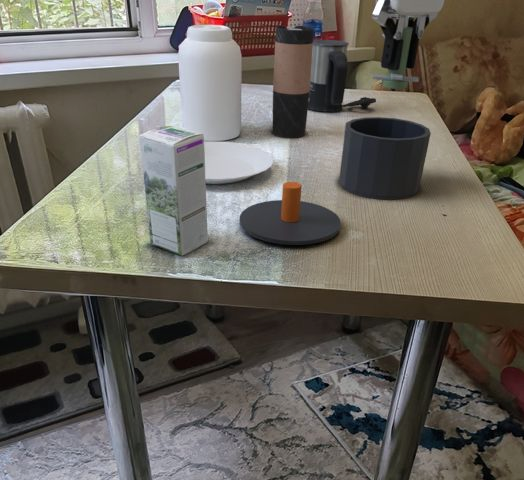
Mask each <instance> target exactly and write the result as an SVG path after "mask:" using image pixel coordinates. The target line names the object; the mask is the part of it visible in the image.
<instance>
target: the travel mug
mask: <svg viewBox="0 0 524 480" xmlns="http://www.w3.org/2000/svg"><path fill="white" fill-rule="evenodd" d="M314 31H315V29H314V27H311V26H306V25H295V26H294V27H293V28H287V27H286V26H285V25H277V26H276V27H275V38H274V39H275V42H274V60H273V61H274V62H273V80H272V81H273V82H272V134H273V135H274V136H277V137H280V138H286V139H295V138H301V137H304V136H305V135H306V129H307V120H308V112H309V111H308V110H309V109H308V102H309V91H310V78H311V63H312V48H313V41H314V33H315V32H314Z"/></svg>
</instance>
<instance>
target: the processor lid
mask: <svg viewBox="0 0 524 480" xmlns="http://www.w3.org/2000/svg"><path fill="white" fill-rule="evenodd" d="M301 197H302V183H300V182H297V181H285V182H284V183H283V184H282V196H281V199H276V200H266V201H262V202H259V203H255V204H253V205H250V206H248V207H246V208H245V209H244V210H242V212H241V213H240V215H239V226H240V227H241V229H242V230H243V231H244V232H245V233H246V234H248V235H249V236H251V237H253V238H256V239H258V240H260V241H264V242H268V243H273V244H280V245H288V246H302V245H312V244H318V243H322V242H325V241H328V240H330V239H332V238H333V237H335V236H336V235H337V234H338V233H339V232H340V229H341V226H342V223H341V218H340V217H339V216H338V215H337V214H336V213H335V211H333V210H331V209H329V208H328V207H325V206H323V205H319V204H316V203H313V202H308V201H302V200H301V199H302V198H301Z"/></svg>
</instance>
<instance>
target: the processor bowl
mask: <svg viewBox="0 0 524 480" xmlns="http://www.w3.org/2000/svg"><path fill="white" fill-rule="evenodd" d="M344 129H345V130H344V138H343V145H342V154H341V162H340V170H339V171H340V172H339V180H338V183H339V186H340V187H341V188H342V189H343V190H345V191H346V192H349V193H351V194H353V195H356V196H359V197H364V198H368V199H376V200H400V199H401V200H403V199H406V198H410V197H412V196H414V195H416V194H417V193H418V192H419V189H420V187H421V183H422V177H423V172H424V167H425V162H426V157H427V152H428V148H429V143H430V139H431V133H432V132H431V130H430V128H429V127H427V126H425V125H423V124H422V123H419V122H415V121H411V120H407V119H401V118H396V117H385V116H384V117H382V116H372V117H371V116H369V117H368V116H367V117H359V118H353V119H350V120H349V121H346V122H345V128H344Z"/></svg>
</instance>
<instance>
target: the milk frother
mask: <svg viewBox="0 0 524 480" xmlns="http://www.w3.org/2000/svg"><path fill="white" fill-rule="evenodd" d="M349 45H350V43H349V42H347V41H343V40H334V39H333V40H332V39H315V40H314V39H313V48H312V63H311V78H310V91H309V102H308V110H311V111H316V112H339V111H341V110H342V109H343V108H347V107H357V106H360V108H361V109H367V108H368V107H369V106H371V104H374V103H375V104H376V102H377V98H375V97H371V98H370V97H367V96H363V97H360V98H359V99H358V100H353V101H351V102H349V103H345V104H343V103H344V97H345V92H346V91H345V90H346V84H347V76H348V71H349V70H348V69H349V63H348V57H347V54H348V46H349Z"/></svg>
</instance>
